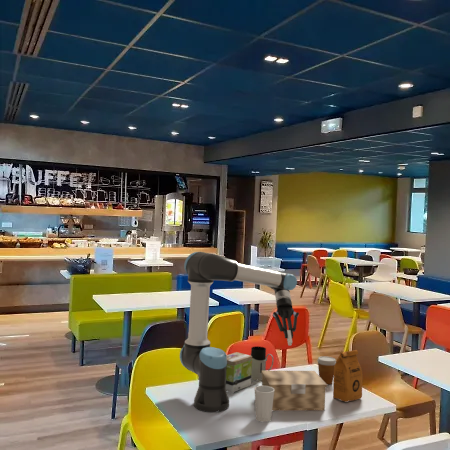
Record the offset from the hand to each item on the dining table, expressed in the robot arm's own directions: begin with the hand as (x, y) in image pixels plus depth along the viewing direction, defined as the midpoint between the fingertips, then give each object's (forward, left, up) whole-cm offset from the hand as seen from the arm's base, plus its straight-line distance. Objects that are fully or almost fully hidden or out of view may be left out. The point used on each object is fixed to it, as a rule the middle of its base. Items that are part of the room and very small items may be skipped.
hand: (290, 343), depth 216 cm
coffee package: (+27, -4, -24) cm, 36 cm away
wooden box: (0, -8, -24) cm, 25 cm away
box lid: (0, -8, -17) cm, 18 cm away
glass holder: (-8, +23, -24) cm, 34 cm away
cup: (-16, -25, -24) cm, 38 cm away
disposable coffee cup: (+24, +18, -24) cm, 38 cm away
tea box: (-24, +12, -24) cm, 36 cm away
